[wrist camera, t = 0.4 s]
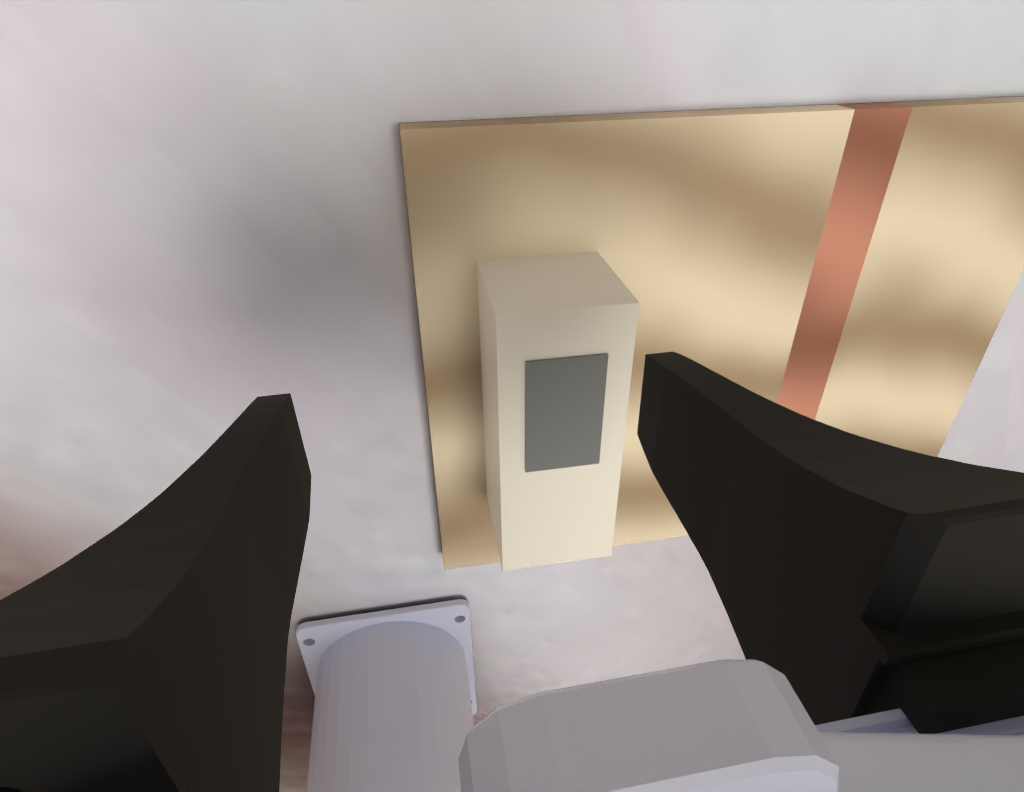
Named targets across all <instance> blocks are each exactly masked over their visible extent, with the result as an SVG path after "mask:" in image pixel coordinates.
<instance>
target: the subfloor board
mask: <svg viewBox="0 0 1024 792" xmlns="http://www.w3.org/2000/svg"><path fill="white" fill-rule="evenodd" d="M399 128H400V138H401V148H402V158H403V168H404V178H405V188H406V197H407V207H408V217H409V227H410V237H411V247H412V257H413V266H414V276H415V286H416V296H417V306H418V316H419V326H420V336H421V345H422V355H423V365H424V375H425V385H426V395H427V405H428V415H429V424H430V434H431V444H432V454H433V464H434V474H435V484H436V494H437V503H438V513H439V523H440V533H441V543H442V553H443V562H444V570H447V569H454V568H461V567H468V566H475V565H482V564H489V563H496V562H501V561H500V556H499V551H498V546H497V542H496V537H495V532H494V527H493V523H492V518H491V513H490V508H489V504H488V499H487V488H486V465H485V442H484V418H483V395H482V372H481V349H480V325H479V302H478V279H477V261H480V260H494V259H507V258H521V257H534V256H548V255H561V254H575V253H588V252H598V253H599V254H600V255H601V256H602V257H603V259H604V260H605V261H606V262H607V264H608V265H609V266H610V267H611V269H612V270H613V271H614V272H615V273H616V275H617V276H618V277H619V278H620V280H621V281H622V282H623V283H624V284H625V286H626V287H627V288H628V289H629V291H630V292H631V293H632V294H633V296H634V297H635V298H636V299H637V300H638V302H639V311H638V320H637V329H636V338H635V347H634V356H633V365H632V374H631V383H630V392H629V401H628V410H627V419H626V428H625V438H624V447H623V456H622V465H621V474H620V483H619V492H618V501H617V510H616V519H615V528H614V537H613V546H615V545H622V544H629V543H636V542H643V541H651V540H658V539H665V538H672V537H679V536H686V535H688V533H687V532H686V530H685V528H684V526H683V525H682V523H681V521H680V520H679V518H678V516H677V514H676V513H675V511H674V509H673V508H672V506H671V504H670V503H669V501H668V499H667V497H666V496H665V494H664V492H663V490H662V489H661V487H660V485H659V483H658V482H657V480H656V478H655V476H654V474H653V473H652V470H651V468H650V466H649V463H648V461H647V458H646V456H645V453H644V451H643V448H642V446H641V443H640V440H639V438H638V435H637V429H638V420H639V411H640V401H641V392H642V382H643V373H644V364H645V354H654V353H663V352H672V351H674V352H676V353H678V354H681V355H683V356H685V357H687V358H689V359H691V360H693V361H695V362H697V363H699V364H701V365H703V366H705V367H707V368H709V369H710V370H712V371H714V372H716V373H718V374H720V375H722V376H724V377H725V378H727V379H729V380H731V381H733V382H735V383H737V384H739V385H741V386H743V387H744V388H746V389H748V390H750V391H752V392H754V393H756V394H758V395H760V396H762V397H764V398H766V399H768V400H771V401H773V402H775V403H777V404H779V405H781V406H784V407H786V408H788V409H790V410H792V411H795V412H797V413H799V414H801V415H804V416H806V417H809V418H811V419H814V420H816V421H819V422H822V423H824V424H827V425H830V426H832V427H835V428H838V429H840V430H843V431H846V432H849V433H852V434H855V435H858V436H861V437H864V438H867V439H871V440H874V441H877V442H881V443H884V444H888V445H891V446H895V447H898V448H902V449H905V450H909V451H913V452H917V453H921V454H925V455H929V456H934V457H937V456H938V454H939V451H940V449H941V447H942V445H943V443H944V441H945V438H946V436H947V434H948V432H949V430H950V428H951V425H952V423H953V421H954V419H955V417H956V415H957V412H958V410H959V408H960V406H961V404H962V402H963V399H964V397H965V395H966V393H967V391H968V389H969V386H970V384H971V382H972V380H973V378H974V376H975V373H976V371H977V369H978V367H979V365H980V363H981V360H982V358H983V356H984V354H985V352H986V350H987V347H988V345H989V343H990V341H991V339H992V337H993V334H994V332H995V330H996V328H997V326H998V324H999V321H1000V319H1001V317H1002V315H1003V313H1004V311H1005V308H1006V306H1007V304H1008V302H1009V300H1010V298H1011V295H1012V293H1013V291H1014V289H1015V287H1016V285H1017V282H1018V280H1019V278H1020V276H1021V274H1022V272H1023V269H1024V96H1021V97H998V98H975V99H951V100H928V101H904V102H881V103H858V104H834V105H811V106H787V107H764V108H741V109H717V110H694V111H670V112H647V113H624V114H600V115H577V116H554V117H530V118H507V119H483V120H460V121H437V122H413V123H399Z"/></svg>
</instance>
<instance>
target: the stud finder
mask: <svg viewBox="0 0 1024 792" xmlns="http://www.w3.org/2000/svg"><path fill="white" fill-rule="evenodd" d="M477 279H478V302H479V325H480V349H481V372H482V395H483V418H484V442H485V465H486V488H487V499H488V504H489V508H490V513H491V518H492V523H493V527H494V532H495V537H496V542H497V546H498V551H499V556H500V561H501V566H502V570H503V571H507V570H514V569H521V568H528V567H535V566H542V565H549V564H556V563H563V562H570V561H577V560H584V559H591V558H598V557H604V556H611V555H612V546H613V537H614V528H615V519H616V510H617V501H618V492H619V483H620V474H621V465H622V456H623V447H624V438H625V428H626V419H627V410H628V401H629V392H630V383H631V374H632V365H633V356H634V347H635V338H636V329H637V320H638V311H639V302H638V300H637V299H636V298H635V297H634V296H633V294H632V293H631V292H630V291H629V289H628V288H627V287H626V286H625V284H624V283H623V282H622V281H621V280H620V278H619V277H618V276H617V275H616V273H615V272H614V271H613V270H612V269H611V267H610V266H609V265H608V264H607V262H606V261H605V260H604V259H603V257H602V256H601V255H600V254H599V253H598V252H588V253H575V254H561V255H548V256H534V257H521V258H507V259H494V260H480V261H477Z"/></svg>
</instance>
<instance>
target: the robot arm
mask: <svg viewBox="0 0 1024 792" xmlns="http://www.w3.org/2000/svg"><path fill="white" fill-rule="evenodd" d="M637 435H638V438H639V440H640V443H641V446H642V448H643V451H644V453H645V456H646V458H647V461H648V463H649V466H650V468H651V470H652V473H653V474H654V476H655V478H656V480H657V482H658V483H659V485H660V487H661V489H662V490H663V492H664V494H665V496H666V497H667V499H668V501H669V503H670V504H671V506H672V508H673V509H674V511H675V513H676V514H677V516H678V518H679V520H680V521H681V523H682V525H683V526H684V528H685V530H686V532H687V533H688V535H689V537H690V538H691V540H692V542H693V543H694V545H695V547H696V549H697V550H698V552H699V554H700V556H701V558H702V560H703V561H704V563H705V565H706V567H707V569H708V571H709V573H710V575H711V578H712V580H713V582H714V584H715V587H716V589H717V591H718V593H719V596H720V598H721V600H722V602H723V605H724V607H725V609H726V612H727V614H728V616H729V619H730V621H731V624H732V626H733V629H734V631H735V633H736V636H737V638H738V641H739V643H740V646H741V648H742V651H743V653H744V655H745V658H746V660H716V661H711V662H705V663H699V664H694V665H688V666H683V667H677V668H672V669H666V670H661V671H655V672H650V673H644V674H639V675H633V676H628V677H622V678H617V679H611V680H606V681H600V682H595V683H589V684H583V685H578V686H572V687H567V688H561V689H556V690H550V691H545V692H539V693H536V694H533V695H530V696H528V697H525V698H522V699H519V700H516V701H513V702H510V703H507V704H504V705H501V706H500V707H498V708H497V709H496V710H494V711H493V712H492V713H491V714H489V715H488V716H487V717H486V718H484V719H483V720H482V721H480V722H479V723H478V724H477V725H475V726H474V722H473V715H474V714H475V713H476V712H477V704H476V690H475V676H474V662H473V649H472V635H471V621H470V609H469V604H468V602H467V601H466V600H462V599H457V600H450V601H443V602H437V603H430V604H423V605H417V606H410V607H403V608H396V609H390V610H383V611H376V612H370V613H363V614H356V615H350V616H343V617H336V618H329V619H323V620H316V621H309V622H304V623H301V624H300V625H298V627H297V629H296V638H297V641H298V644H299V648H300V651H301V654H302V657H303V660H304V663H305V667H306V670H307V673H308V676H309V679H310V682H311V685H312V689H313V692H314V695H315V703H314V714H313V726H312V737H311V748H310V759H309V770H308V781H307V792H1024V473H1021V472H1015V471H1009V470H1002V469H996V468H990V467H983V466H977V465H972V464H967V463H962V462H957V461H953V460H948V459H943V458H939V457H934V456H929V455H925V454H921V453H917V452H913V451H909V450H905V449H902V448H898V447H895V446H891V445H888V444H884V443H881V442H877V441H874V440H871V439H867V438H864V437H861V436H858V435H855V434H852V433H849V432H846V431H843V430H840V429H838V428H835V427H832V426H830V425H827V424H824V423H822V422H819V421H816V420H814V419H811V418H809V417H806V416H804V415H801V414H799V413H797V412H795V411H792V410H790V409H788V408H786V407H784V406H781V405H779V404H777V403H775V402H773V401H771V400H768V399H766V398H764V397H762V396H760V395H758V394H756V393H754V392H752V391H750V390H748V389H746V388H744V387H743V386H741V385H739V384H737V383H735V382H733V381H731V380H729V379H727V378H725V377H724V376H722V375H720V374H718V373H716V372H714V371H712V370H710V369H709V368H707V367H705V366H703V365H701V364H699V363H697V362H695V361H693V360H691V359H689V358H687V357H685V356H683V355H681V354H678V353H676V352H674V351H672V352H663V353H654V354H645V364H644V373H643V382H642V392H641V401H640V411H639V420H638V429H637ZM310 493H311V473H310V469H309V465H308V461H307V457H306V453H305V449H304V445H303V441H302V438H301V434H300V430H299V426H298V422H297V418H296V414H295V410H294V406H293V402H292V398H291V394H290V393H289V394H280V395H271V396H262V397H257V398H256V399H255V400H254V401H253V402H252V403H251V404H250V405H249V406H248V407H247V408H246V410H245V411H244V412H243V413H242V414H241V415H240V416H239V417H238V418H237V419H236V420H235V422H234V423H233V424H232V425H231V426H230V427H229V428H228V429H227V430H226V431H225V432H224V433H223V434H222V435H221V436H220V437H219V439H218V440H217V441H216V442H215V443H214V444H213V445H212V446H211V447H210V448H209V449H208V450H207V451H206V452H205V453H204V454H203V455H202V456H201V457H200V458H199V459H198V460H197V461H196V462H195V463H194V464H193V465H192V466H190V467H189V468H188V469H187V470H186V471H185V472H184V473H183V474H182V475H181V476H180V477H179V478H178V479H177V480H175V481H174V482H173V483H172V484H171V485H170V486H169V487H168V488H167V489H166V490H165V491H163V492H162V493H161V494H160V495H159V496H158V497H156V498H155V499H154V500H153V501H152V502H150V503H149V504H148V505H147V506H145V507H144V508H143V509H142V510H140V511H139V512H138V513H136V514H135V515H134V516H132V517H131V518H130V519H129V520H127V521H126V522H125V523H123V524H122V525H121V526H119V527H118V528H117V529H115V530H114V531H112V532H111V533H109V534H108V535H106V536H105V537H103V538H102V539H100V540H99V541H97V542H96V543H94V544H93V545H91V546H90V547H88V548H87V549H85V550H84V551H82V552H81V553H79V554H78V555H76V556H75V557H73V558H72V559H70V560H69V561H67V562H66V563H64V564H63V565H61V566H59V567H58V568H56V569H54V570H53V571H51V572H49V573H48V574H46V575H44V576H42V577H41V578H39V579H37V580H36V581H34V582H32V583H31V584H29V585H27V586H25V587H23V588H21V589H20V590H18V591H16V592H14V593H12V594H11V595H9V596H7V597H5V598H3V599H2V600H0V792H279V781H280V756H281V734H282V716H283V699H284V683H285V670H286V656H287V643H288V634H289V627H290V620H291V614H292V608H293V603H294V598H295V593H296V587H297V582H298V577H299V572H300V566H301V561H302V556H303V551H304V545H305V540H306V534H307V529H308V523H309V514H310Z"/></svg>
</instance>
